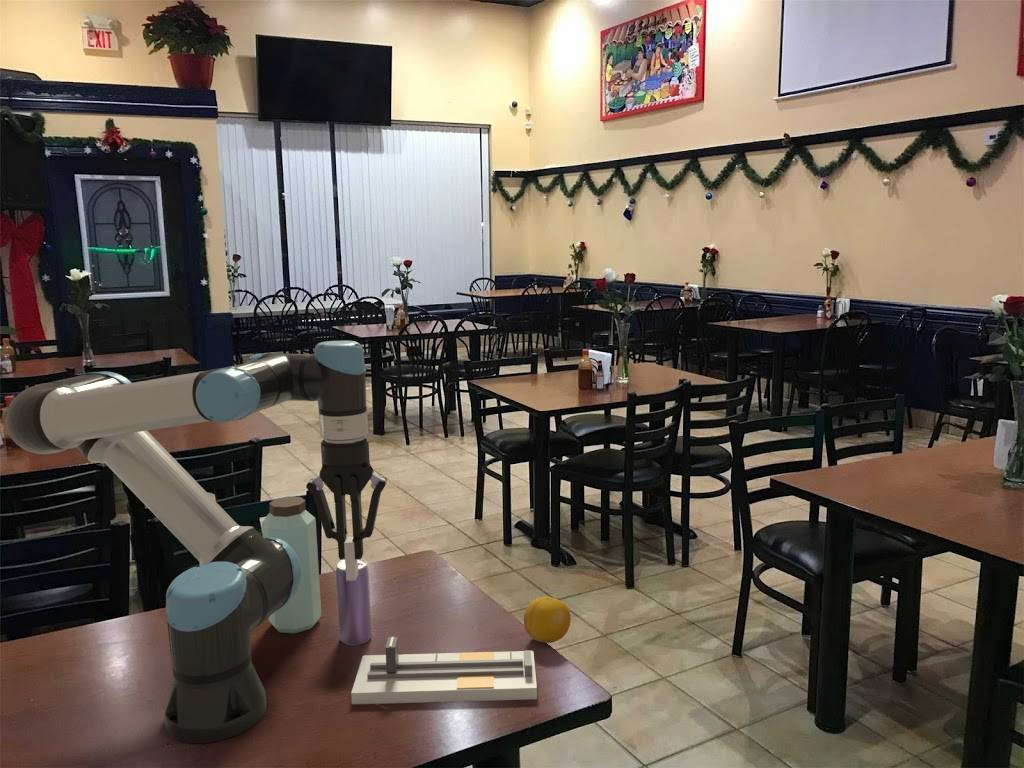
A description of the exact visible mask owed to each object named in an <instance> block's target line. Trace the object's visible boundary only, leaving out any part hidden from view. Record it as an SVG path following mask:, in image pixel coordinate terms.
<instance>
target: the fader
mask: <svg viewBox="0 0 1024 768" xmlns="http://www.w3.org/2000/svg"><path fill="white" fill-rule="evenodd" d="M385 655H386V670H387V672H396V671H397V666H398V662H399V656H398V655H399V639H398V636H388V637H387V640H386V643H385Z"/></svg>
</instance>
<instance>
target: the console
mask: <svg viewBox="0 0 1024 768" xmlns="http://www.w3.org/2000/svg"><path fill="white" fill-rule="evenodd" d="M534 655H535V654H534V650H531V649H530V650H527V649H526V650H522V651H519V650H517V651H516V650H515V651H514V650H512V651H477V652H471V651H470V652H448V653H446V652H445V653H443V652H442V653H440V652H439V653H412V654H410V653H408V654H407V653H403V654H398V656H399V662H398V666H397V671H396V672H387V670H386V654H374V655H373V654H371V655H370V654H368V655H362V657H361V660H360V663H359V667H358V670H357V673H356V677H355V680H354V682H353V687H352V689H351V693H350V694H351V705H373V704H374V705H376V704H378V705H379V704H382V705H383V704H408V703H409V704H413V703H415V704H416V703H417V704H418V703H419V704H420V703H446V702H447V703H449V702H455V703H456V702H482V701H483V702H486V701H487V702H488V701H519V700H520V701H522V700H523V701H524V700H538V689H537V688H538V686H537V676H536V665H535V656H534Z"/></svg>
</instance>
